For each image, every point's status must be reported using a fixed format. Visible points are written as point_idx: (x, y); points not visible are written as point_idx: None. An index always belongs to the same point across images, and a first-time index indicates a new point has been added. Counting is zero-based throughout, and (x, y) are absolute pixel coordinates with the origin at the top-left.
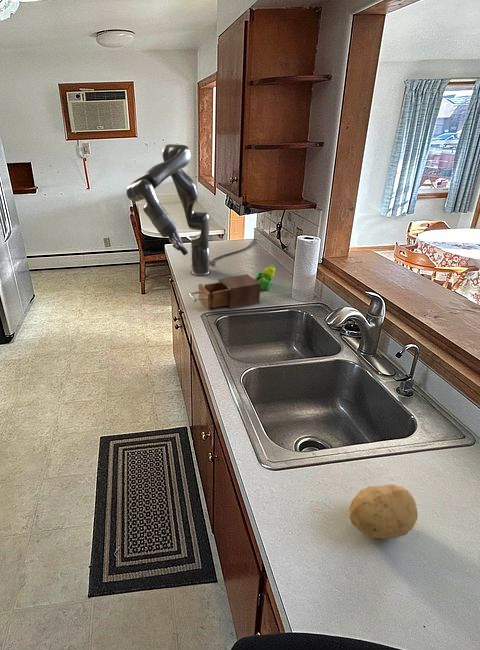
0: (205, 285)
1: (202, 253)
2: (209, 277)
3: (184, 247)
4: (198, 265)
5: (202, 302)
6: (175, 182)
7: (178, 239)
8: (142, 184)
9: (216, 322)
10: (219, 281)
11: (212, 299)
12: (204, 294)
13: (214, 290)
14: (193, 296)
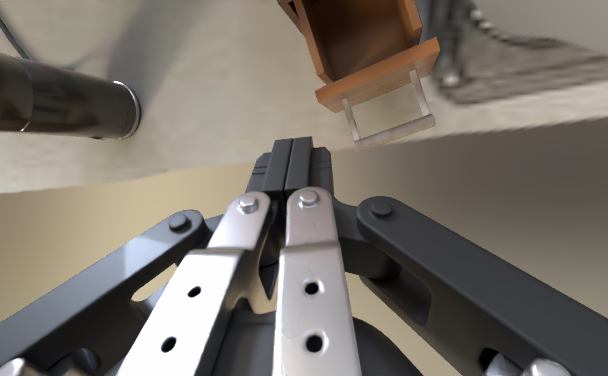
0: (324, 70)
1: (49, 85)
2: (152, 80)
3: (293, 176)
4: (105, 112)
5: (369, 97)
6: None
7: (359, 363)
8: None
9: (534, 39)
10: (288, 2)
11: (415, 43)
12: (391, 76)
13: (319, 40)
14: (399, 128)
